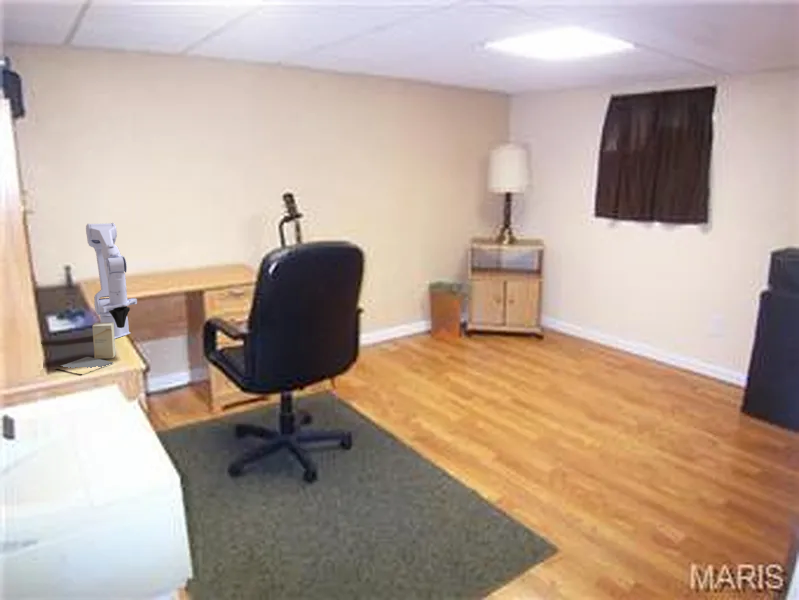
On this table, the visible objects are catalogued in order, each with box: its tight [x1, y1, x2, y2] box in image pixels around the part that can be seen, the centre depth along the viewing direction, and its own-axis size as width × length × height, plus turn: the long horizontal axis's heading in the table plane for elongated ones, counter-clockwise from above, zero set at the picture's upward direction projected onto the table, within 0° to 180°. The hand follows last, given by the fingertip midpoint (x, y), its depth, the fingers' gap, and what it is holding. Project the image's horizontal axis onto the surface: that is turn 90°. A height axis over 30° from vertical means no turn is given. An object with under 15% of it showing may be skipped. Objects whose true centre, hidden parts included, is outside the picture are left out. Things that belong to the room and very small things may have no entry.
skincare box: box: [91, 322, 116, 360], centre depth 200 cm, size 6×4×12 cm
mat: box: [61, 356, 114, 368], centre depth 192 cm, size 12×12×1 cm
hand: (120, 327), depth 206 cm, fingers closed
